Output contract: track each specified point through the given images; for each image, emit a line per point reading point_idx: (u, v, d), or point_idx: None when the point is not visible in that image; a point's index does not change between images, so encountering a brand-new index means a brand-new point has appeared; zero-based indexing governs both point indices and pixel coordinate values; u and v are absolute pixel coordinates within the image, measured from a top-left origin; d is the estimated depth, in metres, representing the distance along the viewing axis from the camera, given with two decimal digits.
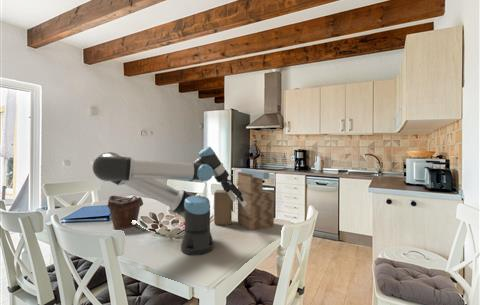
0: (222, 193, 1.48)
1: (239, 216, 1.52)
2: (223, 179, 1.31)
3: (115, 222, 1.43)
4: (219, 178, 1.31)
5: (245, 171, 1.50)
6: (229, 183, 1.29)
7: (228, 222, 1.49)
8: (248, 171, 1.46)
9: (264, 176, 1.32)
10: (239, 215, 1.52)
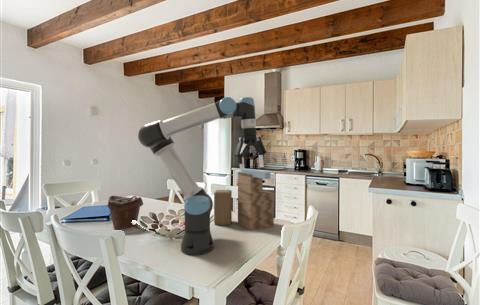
0: (222, 193, 1.48)
1: (239, 216, 1.52)
2: (242, 134, 1.27)
3: (115, 222, 1.43)
4: (242, 131, 1.28)
5: (245, 171, 1.49)
6: (239, 139, 1.24)
7: (228, 222, 1.49)
8: (248, 171, 1.46)
9: (265, 176, 1.32)
10: (239, 215, 1.52)
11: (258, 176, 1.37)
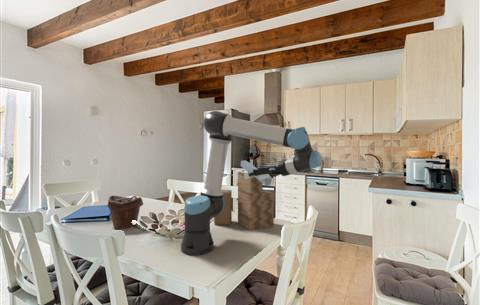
0: None
1: (239, 216, 1.52)
2: (278, 165, 1.16)
3: (115, 222, 1.43)
4: (281, 162, 1.16)
5: (246, 166, 1.48)
6: (270, 168, 1.15)
7: (228, 222, 1.49)
8: (249, 168, 1.45)
9: (266, 183, 1.33)
10: (239, 215, 1.52)
11: (258, 178, 1.38)
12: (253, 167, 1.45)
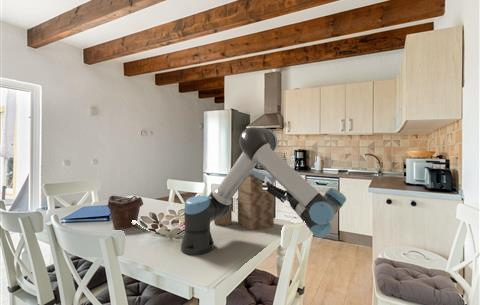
0: None
1: (239, 216, 1.52)
2: (292, 200, 1.08)
3: (115, 222, 1.43)
4: (296, 200, 1.07)
5: None
6: (282, 198, 1.09)
7: (228, 222, 1.49)
8: None
9: (271, 181, 1.34)
10: (239, 215, 1.52)
11: (261, 178, 1.38)
12: None
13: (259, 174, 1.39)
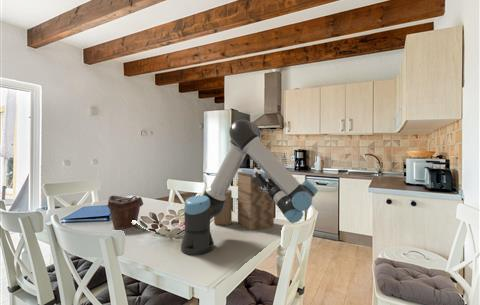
0: None
1: (239, 216, 1.52)
2: (270, 190, 1.23)
3: (115, 222, 1.43)
4: (274, 190, 1.21)
5: (246, 171, 1.49)
6: (261, 186, 1.25)
7: (228, 222, 1.49)
8: (249, 171, 1.46)
9: (265, 177, 1.31)
10: (239, 215, 1.52)
11: None
12: None
13: None
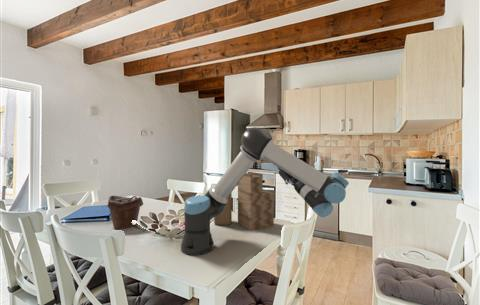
0: None
1: (239, 216, 1.52)
2: (296, 184, 1.17)
3: (115, 222, 1.43)
4: (300, 184, 1.16)
5: (266, 165, 1.44)
6: (286, 180, 1.20)
7: (228, 222, 1.49)
8: (270, 165, 1.40)
9: None
10: (239, 215, 1.52)
11: None
12: None
13: None
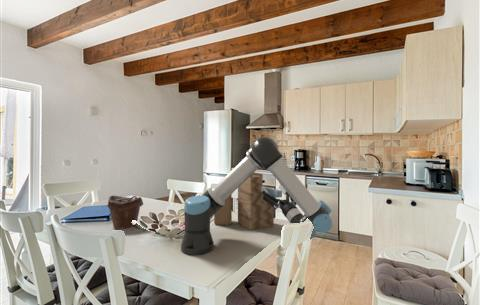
0: None
1: (239, 216, 1.52)
2: (283, 208, 1.27)
3: (115, 222, 1.43)
4: (287, 208, 1.25)
5: None
6: (275, 205, 1.28)
7: (228, 222, 1.49)
8: None
9: (277, 195, 1.35)
10: (239, 215, 1.52)
11: (270, 194, 1.40)
12: (264, 186, 1.49)
13: (268, 190, 1.42)
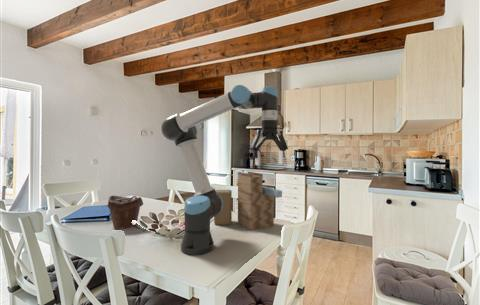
0: (222, 193, 1.48)
1: (239, 216, 1.52)
2: (262, 126, 1.17)
3: (115, 222, 1.43)
4: None
5: None
6: (256, 131, 1.15)
7: (228, 222, 1.49)
8: None
9: (277, 195, 1.35)
10: (239, 215, 1.52)
11: (270, 194, 1.40)
12: (264, 186, 1.49)
13: (268, 190, 1.42)
